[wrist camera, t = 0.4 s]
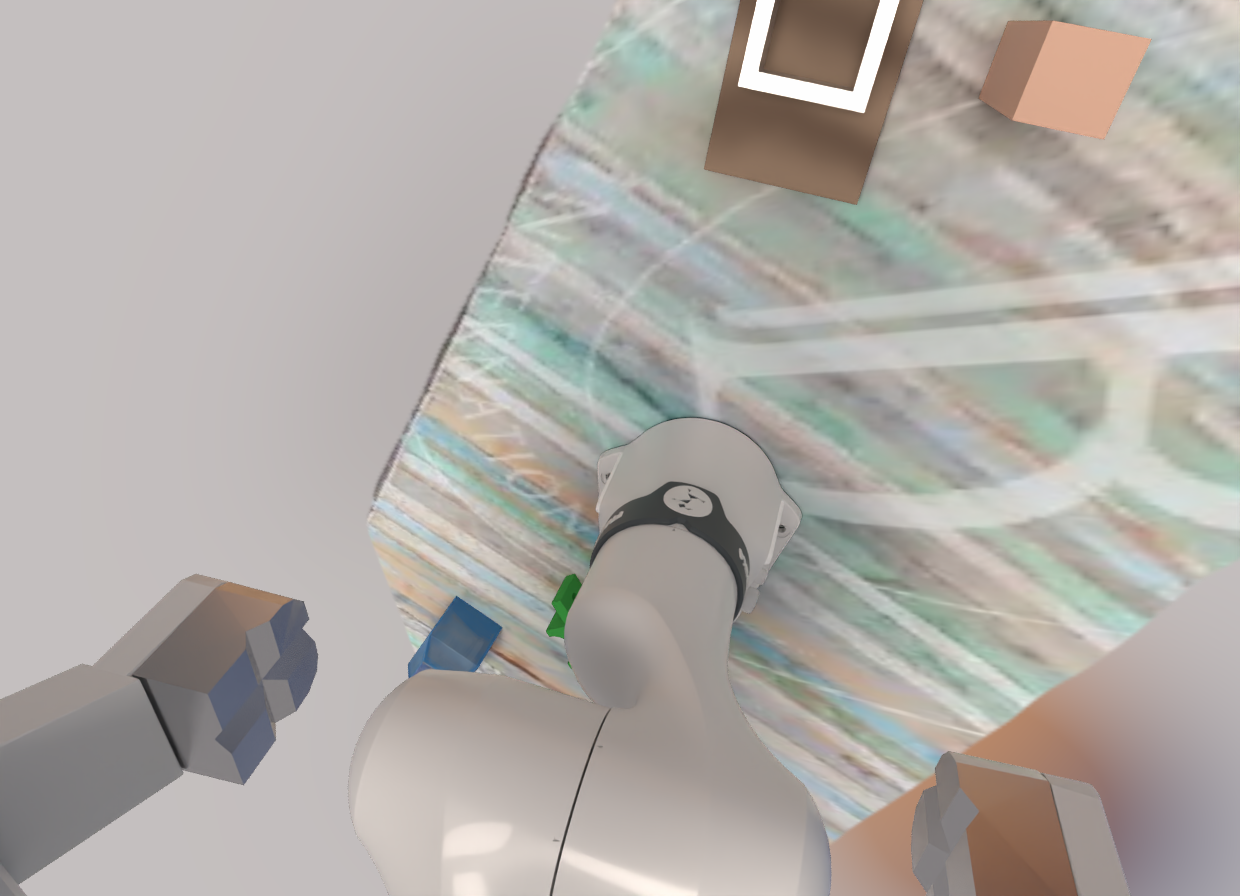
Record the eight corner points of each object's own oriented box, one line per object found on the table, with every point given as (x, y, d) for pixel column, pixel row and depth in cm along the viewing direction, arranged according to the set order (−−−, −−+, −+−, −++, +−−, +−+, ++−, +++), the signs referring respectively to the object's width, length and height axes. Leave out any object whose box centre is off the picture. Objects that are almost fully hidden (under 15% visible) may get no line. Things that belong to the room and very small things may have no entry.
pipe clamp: (546, 580, 79) (530, 608, 76) (575, 572, 78) (560, 600, 74) (597, 659, 83) (584, 690, 79) (626, 653, 81) (614, 684, 77)
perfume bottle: (435, 625, 87) (379, 704, 77) (456, 595, 84) (401, 673, 74) (479, 655, 88) (429, 738, 78) (502, 627, 84) (453, 709, 74)
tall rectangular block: (1049, 112, 48) (1103, 139, 37) (978, 98, 49) (1011, 120, 38) (1082, 35, 46) (1151, 39, 35) (1007, 21, 46) (1052, 20, 35)
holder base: (856, 201, 54) (856, 204, 52) (706, 166, 55) (703, 169, 54) (972, -153, 43) (974, -157, 42) (782, -183, 45) (780, -188, 44)
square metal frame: (864, 107, 50) (864, 112, 47) (745, 82, 51) (738, 86, 48) (908, -36, 45) (911, -40, 42) (777, -60, 47) (772, -65, 44)
